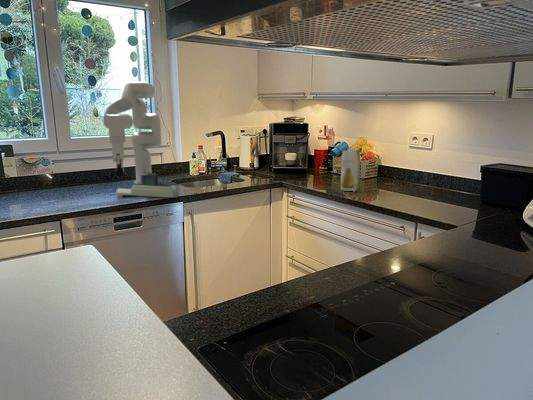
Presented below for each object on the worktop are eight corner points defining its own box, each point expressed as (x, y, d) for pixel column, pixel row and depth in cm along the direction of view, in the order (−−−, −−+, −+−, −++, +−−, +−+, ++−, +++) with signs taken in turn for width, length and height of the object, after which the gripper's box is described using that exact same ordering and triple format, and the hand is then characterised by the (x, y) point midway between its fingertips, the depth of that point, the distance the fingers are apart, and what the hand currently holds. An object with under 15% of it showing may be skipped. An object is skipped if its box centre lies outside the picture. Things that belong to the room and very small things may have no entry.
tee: (103, 199, 211) (103, 196, 211) (109, 198, 212) (108, 195, 212) (103, 200, 209) (103, 197, 209) (108, 199, 210) (108, 196, 209)
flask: (141, 190, 232) (140, 172, 229) (141, 189, 234) (140, 171, 232) (158, 189, 234) (157, 171, 232) (157, 188, 237) (156, 170, 235)
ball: (116, 173, 211) (115, 165, 210) (124, 173, 212) (123, 165, 211) (115, 174, 207) (115, 166, 206) (124, 174, 208) (123, 166, 207)
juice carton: (339, 191, 228) (340, 148, 223) (343, 189, 235) (345, 147, 230) (355, 193, 224) (357, 149, 219) (359, 190, 230) (361, 148, 225)
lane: (118, 196, 217) (117, 185, 216) (175, 193, 225) (174, 182, 224) (116, 201, 207) (115, 189, 206) (176, 197, 215) (176, 186, 214)
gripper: (110, 138, 212) (113, 173, 216) (108, 141, 197) (111, 178, 201) (126, 138, 214) (128, 172, 218) (124, 140, 199) (127, 177, 203)
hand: (120, 175), depth 209 cm, fingers closed on ball, 3 cm apart
